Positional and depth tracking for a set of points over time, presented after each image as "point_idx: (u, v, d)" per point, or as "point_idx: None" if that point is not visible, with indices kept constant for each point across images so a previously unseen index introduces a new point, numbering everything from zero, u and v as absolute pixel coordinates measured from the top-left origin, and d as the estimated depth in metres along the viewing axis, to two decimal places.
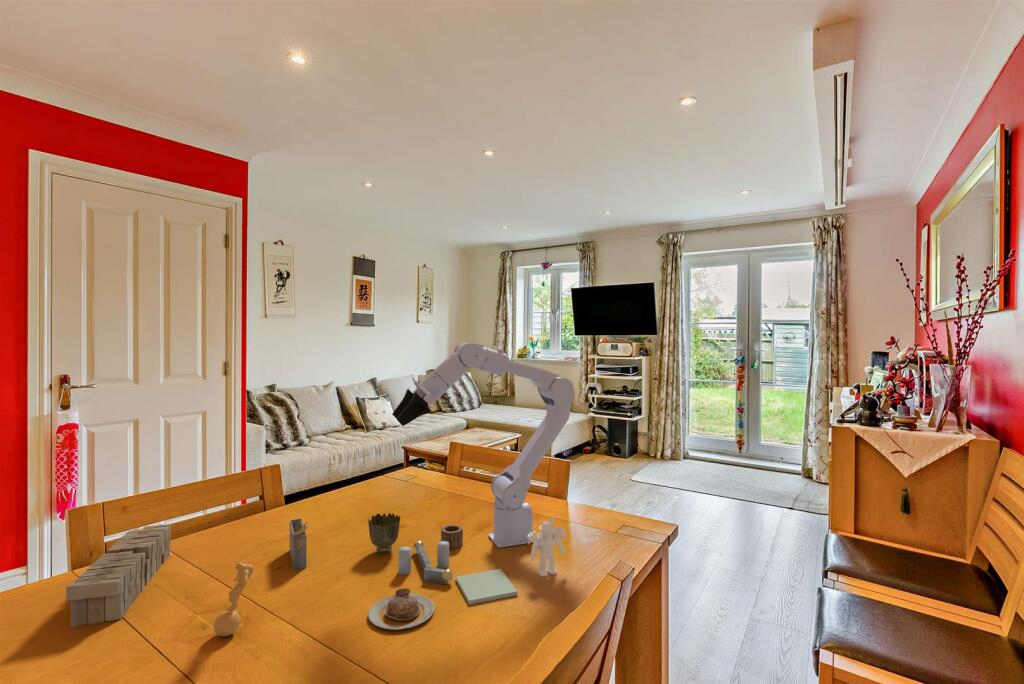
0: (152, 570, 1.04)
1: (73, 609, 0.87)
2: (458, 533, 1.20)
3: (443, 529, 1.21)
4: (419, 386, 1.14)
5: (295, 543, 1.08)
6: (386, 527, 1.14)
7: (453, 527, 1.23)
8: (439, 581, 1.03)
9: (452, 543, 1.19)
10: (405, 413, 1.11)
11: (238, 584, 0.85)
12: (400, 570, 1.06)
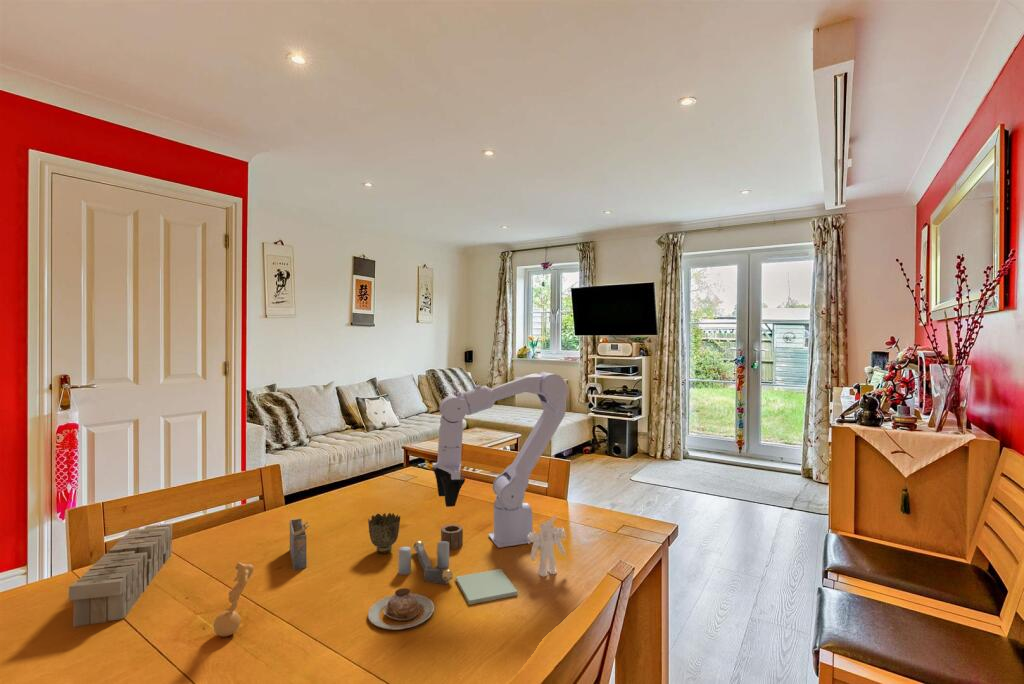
0: (154, 570, 1.04)
1: (76, 609, 0.87)
2: (458, 533, 1.20)
3: (443, 529, 1.21)
4: (439, 467, 1.18)
5: (295, 543, 1.08)
6: (386, 527, 1.14)
7: (453, 527, 1.23)
8: (439, 581, 1.03)
9: (452, 543, 1.19)
10: (448, 497, 1.17)
11: (238, 584, 0.85)
12: (400, 570, 1.06)
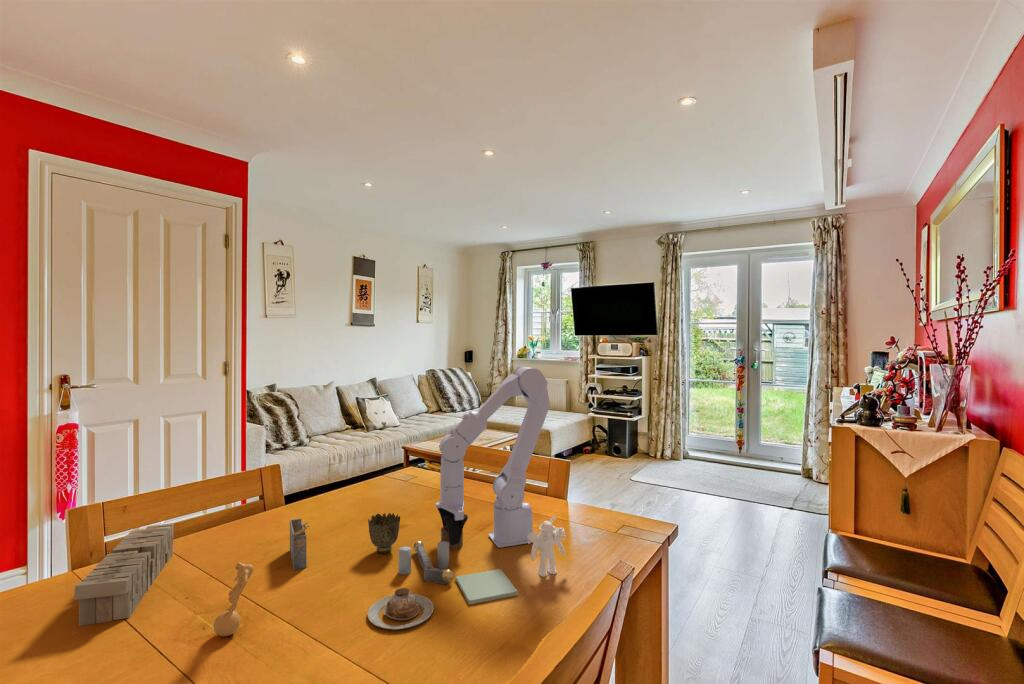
0: (157, 569, 1.05)
1: (81, 608, 0.87)
2: None
3: (443, 529, 1.21)
4: (442, 507, 1.19)
5: (295, 543, 1.08)
6: (386, 527, 1.14)
7: None
8: (439, 581, 1.03)
9: None
10: (452, 535, 1.18)
11: (238, 584, 0.85)
12: (400, 570, 1.06)
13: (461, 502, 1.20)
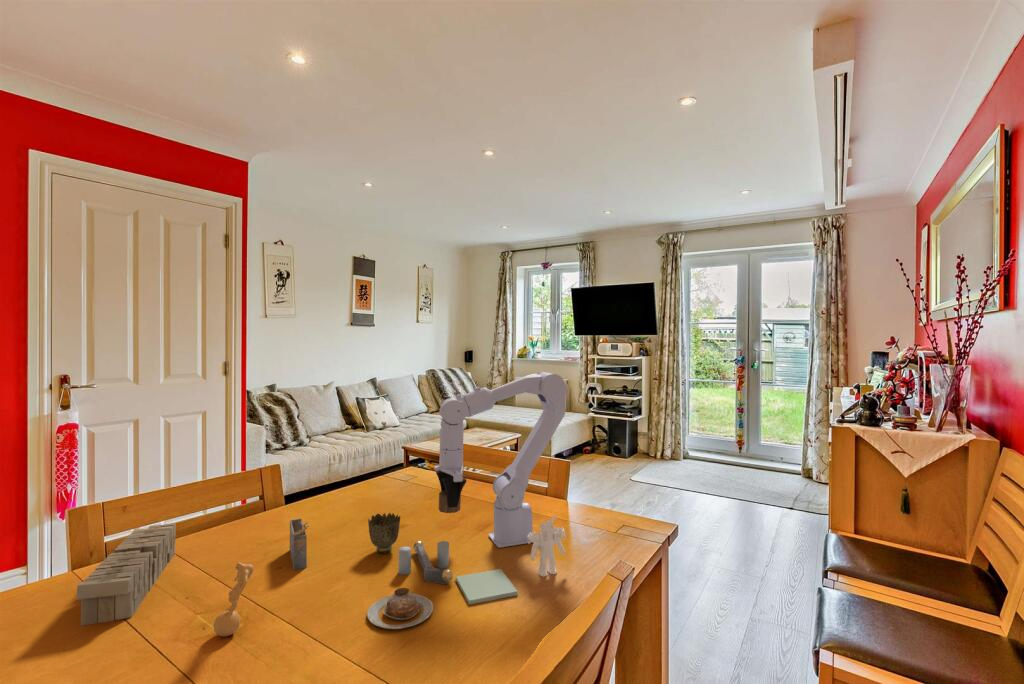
0: (159, 569, 1.05)
1: (83, 608, 0.87)
2: None
3: (441, 493, 1.21)
4: (441, 469, 1.19)
5: (295, 543, 1.08)
6: (386, 527, 1.14)
7: None
8: (439, 581, 1.03)
9: None
10: (450, 498, 1.18)
11: (238, 584, 0.85)
12: (400, 570, 1.06)
13: (460, 465, 1.20)
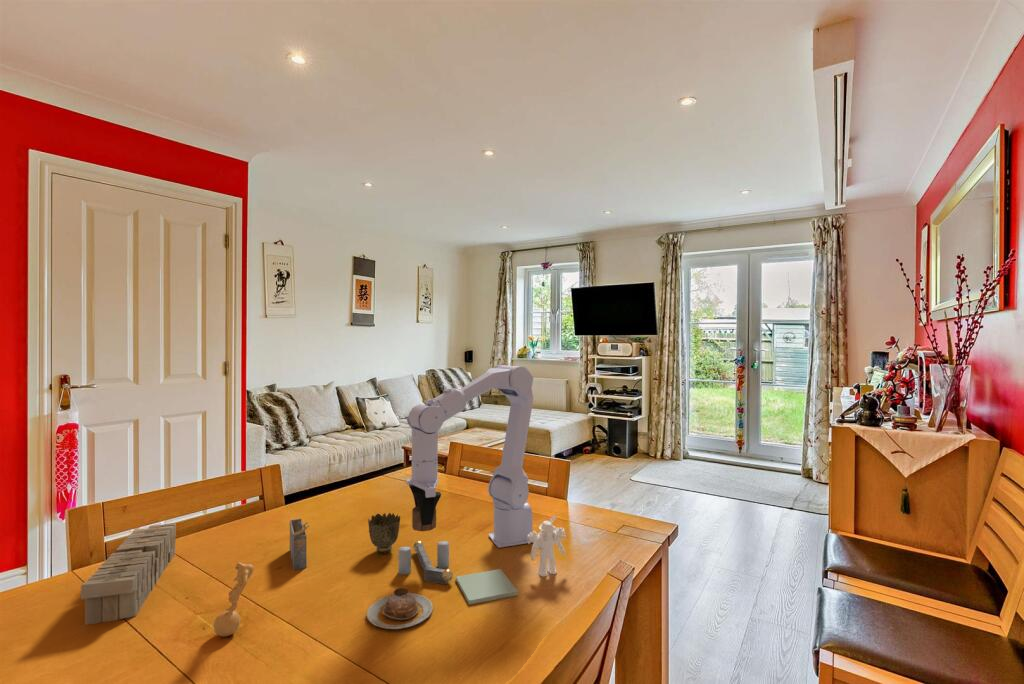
0: (160, 569, 1.05)
1: (87, 607, 0.87)
2: None
3: (414, 509, 1.10)
4: (413, 483, 1.07)
5: (295, 543, 1.08)
6: (386, 527, 1.14)
7: None
8: (439, 581, 1.03)
9: None
10: (423, 515, 1.07)
11: (238, 584, 0.85)
12: (400, 570, 1.06)
13: (434, 478, 1.09)
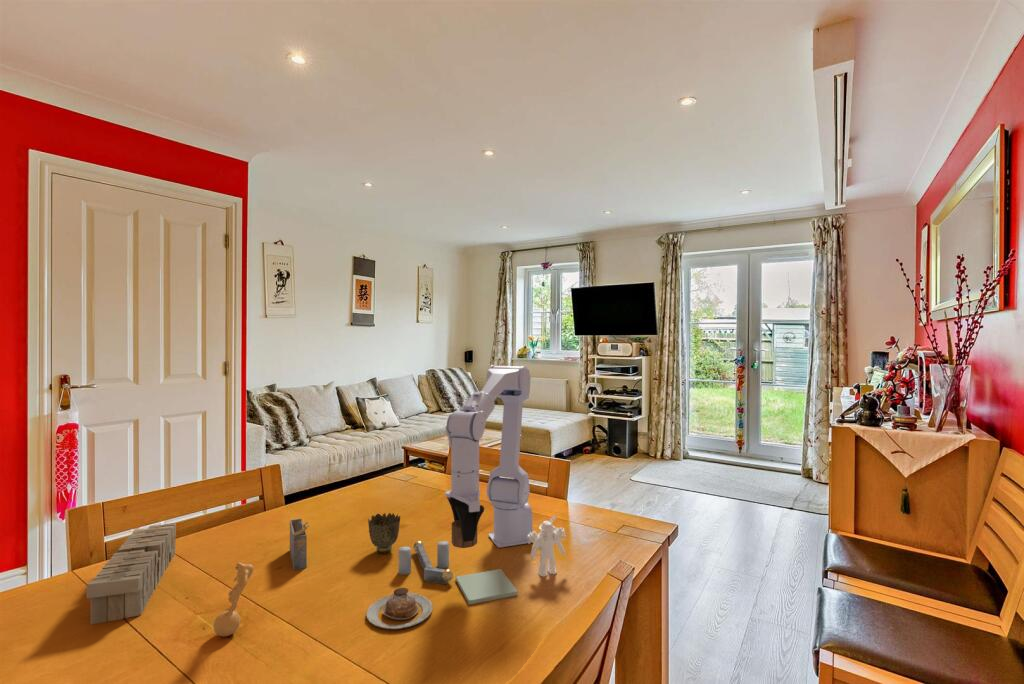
0: (162, 568, 1.05)
1: (93, 607, 0.88)
2: None
3: (454, 524, 1.01)
4: (454, 496, 0.99)
5: (295, 543, 1.08)
6: (386, 527, 1.14)
7: None
8: (439, 581, 1.03)
9: None
10: (465, 530, 0.98)
11: (238, 584, 0.85)
12: (400, 570, 1.06)
13: (476, 491, 1.00)
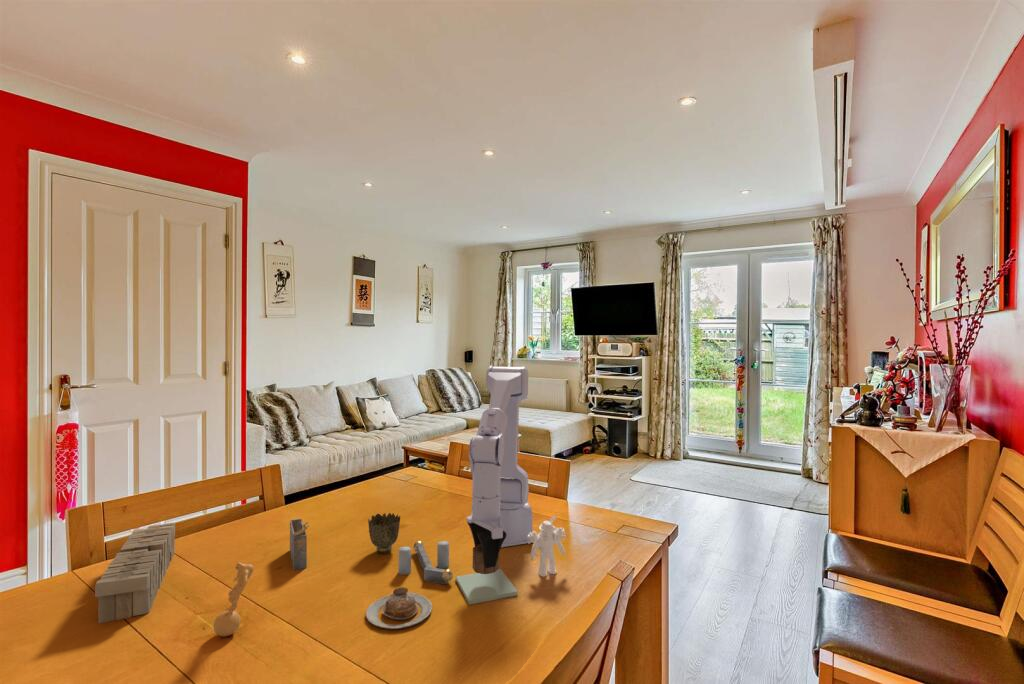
0: (164, 567, 1.06)
1: (101, 605, 0.88)
2: None
3: (475, 549, 1.00)
4: (476, 522, 0.98)
5: (295, 543, 1.08)
6: (386, 527, 1.14)
7: None
8: (439, 581, 1.03)
9: None
10: (487, 556, 0.98)
11: (238, 584, 0.85)
12: (400, 570, 1.06)
13: (498, 516, 0.99)
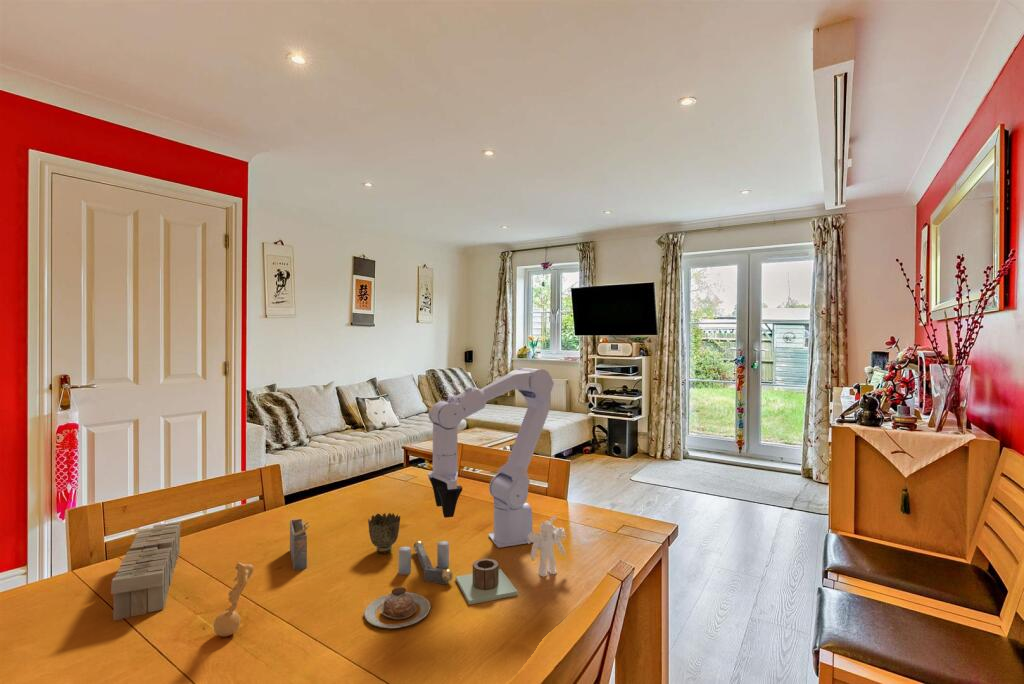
0: (173, 565, 1.06)
1: (116, 603, 0.89)
2: (494, 570, 0.99)
3: (475, 565, 1.01)
4: (435, 476, 1.13)
5: (295, 543, 1.08)
6: (386, 527, 1.14)
7: (486, 562, 1.03)
8: (439, 581, 1.03)
9: (487, 582, 0.99)
10: (445, 507, 1.11)
11: (238, 584, 0.85)
12: (400, 570, 1.06)
13: (454, 472, 1.14)
